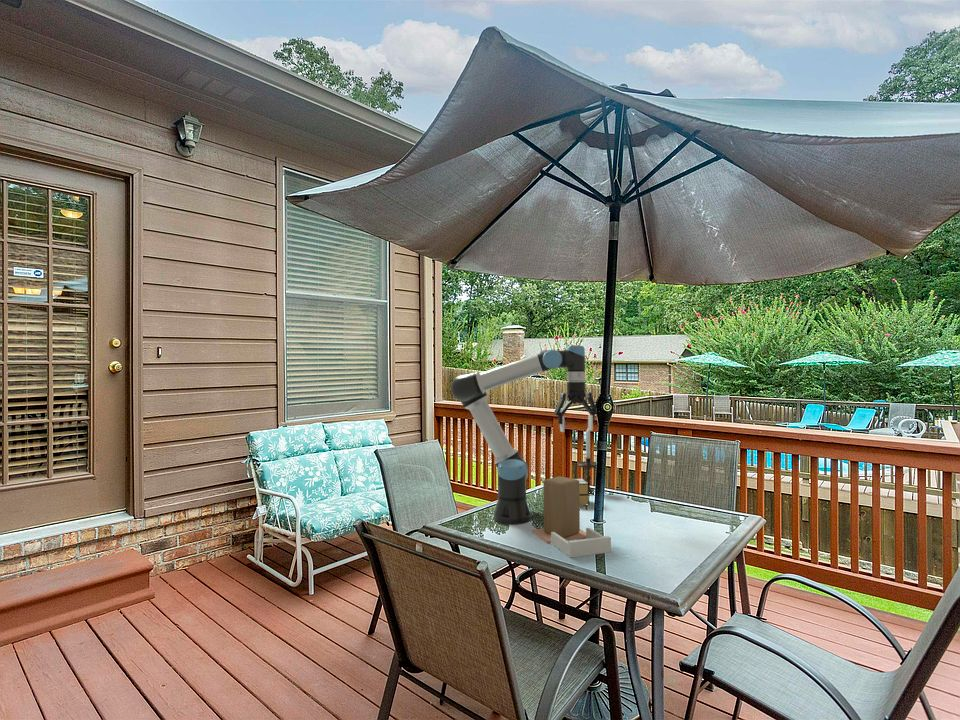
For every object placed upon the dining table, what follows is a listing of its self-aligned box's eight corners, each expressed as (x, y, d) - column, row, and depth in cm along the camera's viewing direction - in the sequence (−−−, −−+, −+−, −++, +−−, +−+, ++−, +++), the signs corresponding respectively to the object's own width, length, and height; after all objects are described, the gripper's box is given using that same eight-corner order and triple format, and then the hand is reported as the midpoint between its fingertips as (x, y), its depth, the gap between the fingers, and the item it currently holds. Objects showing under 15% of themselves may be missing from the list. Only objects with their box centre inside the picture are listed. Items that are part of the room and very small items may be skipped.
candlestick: (583, 496, 253) (583, 423, 253) (573, 491, 263) (572, 420, 263) (603, 494, 256) (603, 422, 256) (593, 489, 266) (592, 419, 266)
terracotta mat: (547, 543, 189) (547, 541, 189) (531, 531, 202) (531, 529, 202) (591, 537, 195) (591, 535, 195) (573, 526, 208) (573, 524, 208)
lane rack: (610, 552, 180) (610, 537, 180) (570, 557, 175) (570, 542, 175) (589, 538, 194) (589, 524, 194) (551, 543, 189) (550, 529, 189)
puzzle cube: (561, 500, 246) (561, 478, 246) (583, 499, 247) (582, 478, 247) (566, 506, 236) (566, 484, 236) (588, 505, 237) (588, 483, 237)
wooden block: (560, 526, 205) (559, 475, 205) (580, 533, 198) (580, 479, 198) (542, 532, 199) (542, 479, 199) (563, 539, 191) (563, 483, 191)
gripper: (553, 382, 220) (554, 433, 220) (606, 381, 228) (606, 430, 228) (545, 381, 227) (546, 431, 227) (597, 380, 235) (597, 428, 235)
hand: (576, 431), depth 227 cm, fingers open, 13 cm apart
